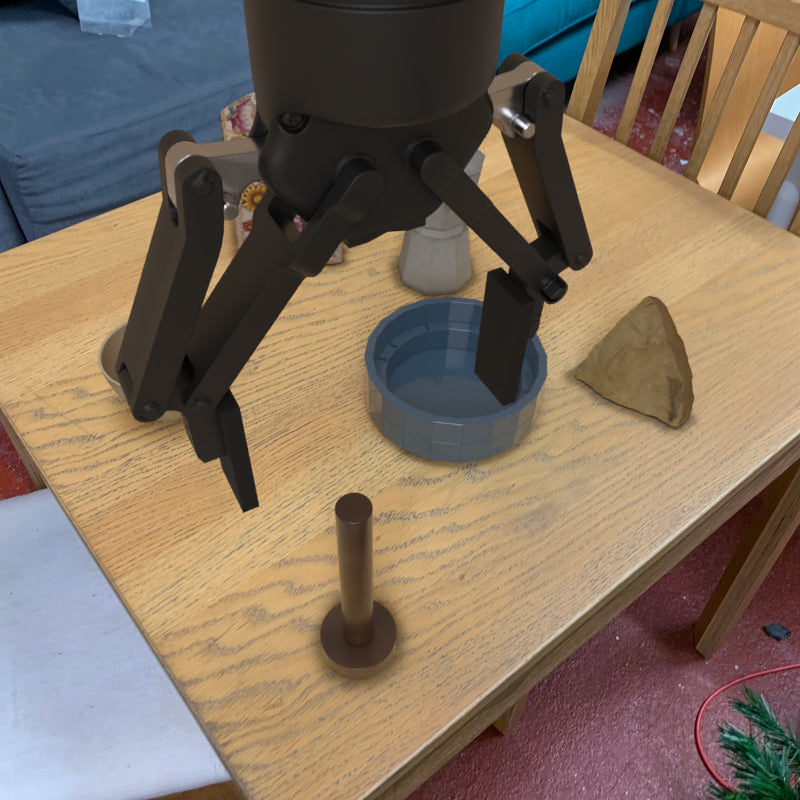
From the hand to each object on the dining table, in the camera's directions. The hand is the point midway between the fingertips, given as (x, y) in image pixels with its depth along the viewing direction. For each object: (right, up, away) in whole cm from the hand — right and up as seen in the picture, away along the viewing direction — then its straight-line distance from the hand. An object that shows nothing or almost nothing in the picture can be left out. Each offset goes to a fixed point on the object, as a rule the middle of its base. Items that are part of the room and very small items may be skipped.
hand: (375, 434), depth 37 cm
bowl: (+6, +2, +38) cm, 38 cm away
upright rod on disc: (-2, -17, +21) cm, 27 cm away
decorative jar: (-12, +21, +55) cm, 60 cm away
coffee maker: (+5, +17, +52) cm, 55 cm away
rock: (+24, +2, +38) cm, 45 cm away
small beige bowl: (-21, +1, +37) cm, 42 cm away
